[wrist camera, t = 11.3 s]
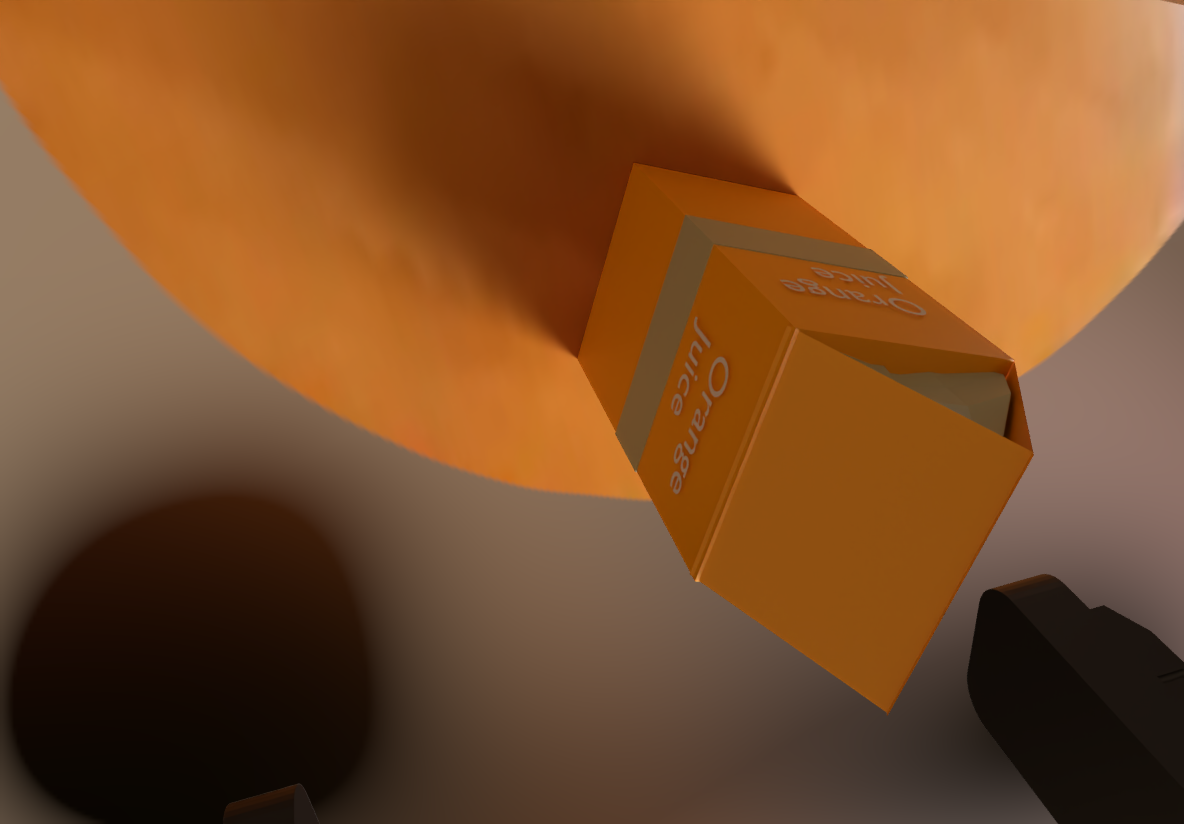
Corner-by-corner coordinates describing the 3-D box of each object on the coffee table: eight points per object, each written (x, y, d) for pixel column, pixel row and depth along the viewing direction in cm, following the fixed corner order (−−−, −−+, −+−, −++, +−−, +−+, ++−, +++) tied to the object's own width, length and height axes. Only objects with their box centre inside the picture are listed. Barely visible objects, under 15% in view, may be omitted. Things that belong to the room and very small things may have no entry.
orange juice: (573, 359, 41) (762, 722, 25) (630, 159, 37) (900, 435, 21) (733, 378, 44) (998, 716, 28) (803, 194, 40) (1160, 462, 24)
